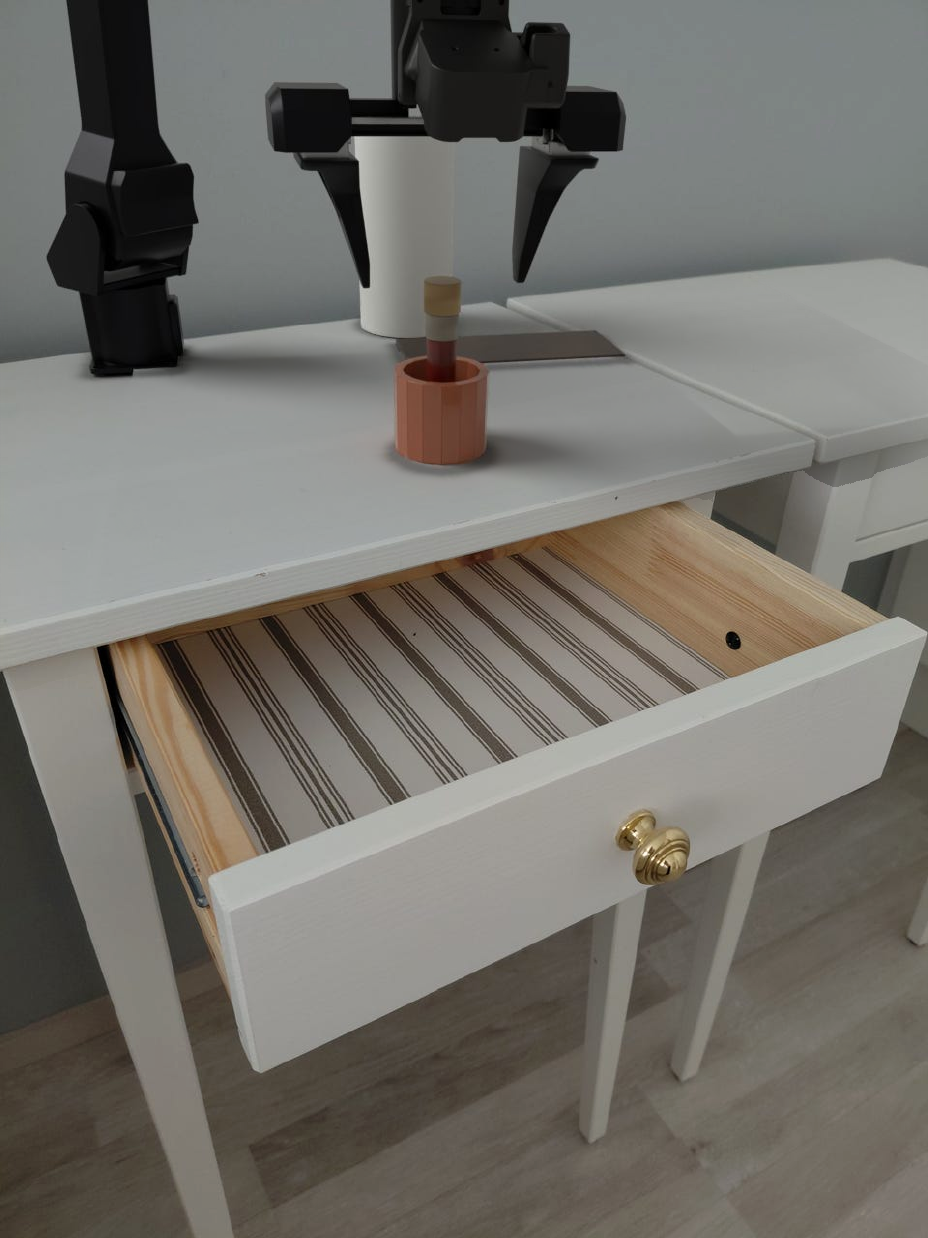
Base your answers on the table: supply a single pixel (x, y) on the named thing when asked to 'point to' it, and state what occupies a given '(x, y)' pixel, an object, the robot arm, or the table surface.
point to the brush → (442, 326)
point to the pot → (441, 412)
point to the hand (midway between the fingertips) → (443, 284)
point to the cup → (404, 227)
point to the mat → (522, 346)
